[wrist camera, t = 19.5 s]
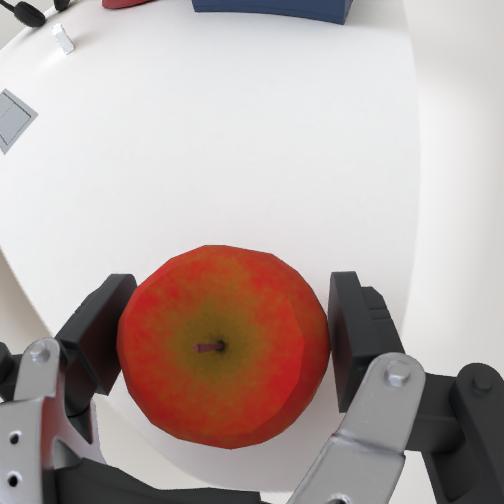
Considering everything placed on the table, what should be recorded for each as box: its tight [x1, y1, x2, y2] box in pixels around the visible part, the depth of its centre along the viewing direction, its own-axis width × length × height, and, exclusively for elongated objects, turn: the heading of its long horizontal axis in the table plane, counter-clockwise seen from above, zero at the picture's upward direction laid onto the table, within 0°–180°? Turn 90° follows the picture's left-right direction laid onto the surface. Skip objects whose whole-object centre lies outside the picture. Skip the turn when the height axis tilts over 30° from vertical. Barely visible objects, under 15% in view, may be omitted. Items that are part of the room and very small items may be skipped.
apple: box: [116, 245, 331, 450], centre depth 10 cm, size 6×6×8 cm
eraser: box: [52, 23, 74, 54], centre depth 25 cm, size 1×5×4 cm, turn 34°
